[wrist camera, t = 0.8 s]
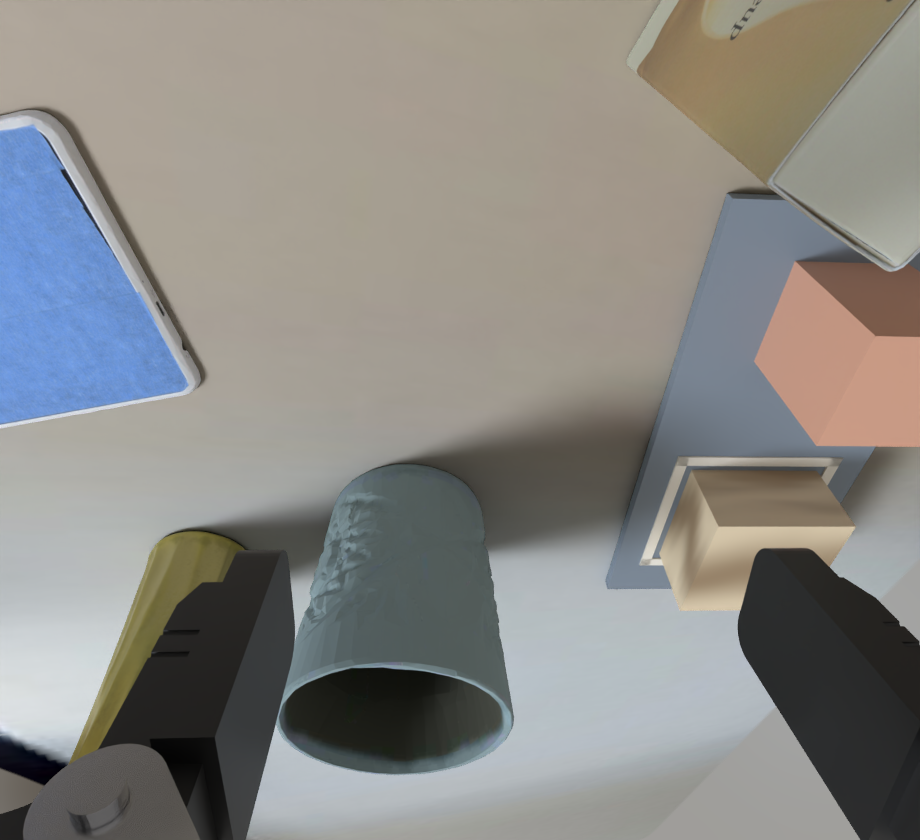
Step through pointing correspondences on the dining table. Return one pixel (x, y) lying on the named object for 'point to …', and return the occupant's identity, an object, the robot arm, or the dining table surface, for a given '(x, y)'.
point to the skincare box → (805, 104)
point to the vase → (154, 618)
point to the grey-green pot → (400, 632)
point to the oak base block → (745, 530)
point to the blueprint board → (730, 381)
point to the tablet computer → (73, 289)
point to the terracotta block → (848, 353)
